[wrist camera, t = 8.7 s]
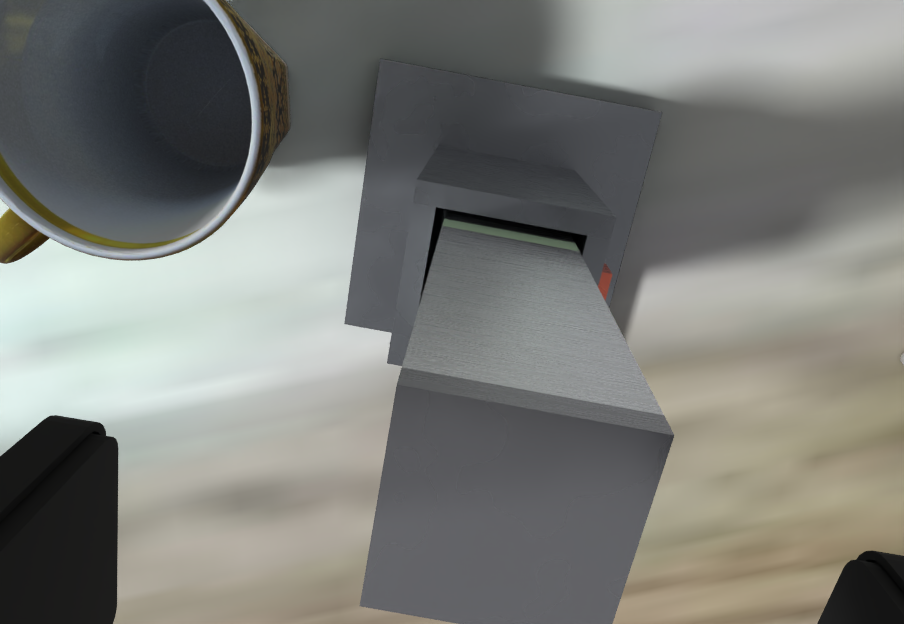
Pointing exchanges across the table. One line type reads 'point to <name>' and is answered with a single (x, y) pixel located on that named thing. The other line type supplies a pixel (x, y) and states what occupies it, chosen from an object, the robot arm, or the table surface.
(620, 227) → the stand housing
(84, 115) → the ceramic cup
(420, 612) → the steel post
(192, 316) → the table surface
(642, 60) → the table surface
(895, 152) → the table surface
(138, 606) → the table surface
